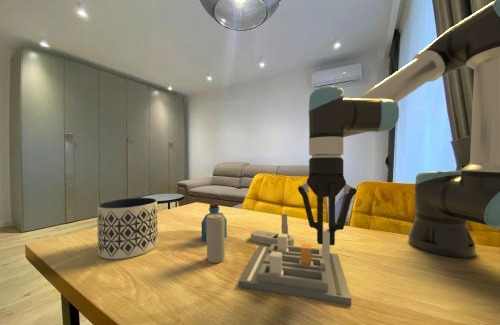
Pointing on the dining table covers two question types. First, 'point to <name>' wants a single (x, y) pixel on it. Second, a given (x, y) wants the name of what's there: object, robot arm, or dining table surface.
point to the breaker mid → (306, 254)
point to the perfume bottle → (213, 210)
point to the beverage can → (215, 238)
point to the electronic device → (272, 235)
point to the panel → (298, 275)
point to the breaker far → (282, 242)
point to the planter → (127, 227)
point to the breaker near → (276, 263)
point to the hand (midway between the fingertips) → (325, 257)
